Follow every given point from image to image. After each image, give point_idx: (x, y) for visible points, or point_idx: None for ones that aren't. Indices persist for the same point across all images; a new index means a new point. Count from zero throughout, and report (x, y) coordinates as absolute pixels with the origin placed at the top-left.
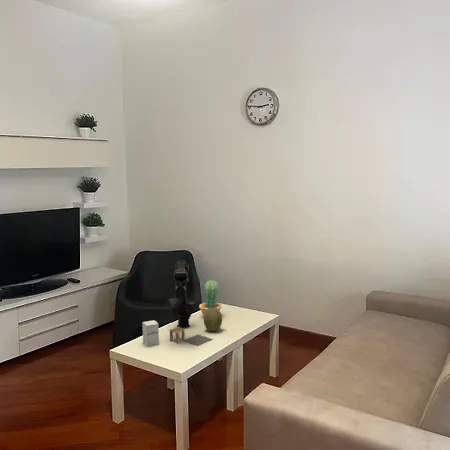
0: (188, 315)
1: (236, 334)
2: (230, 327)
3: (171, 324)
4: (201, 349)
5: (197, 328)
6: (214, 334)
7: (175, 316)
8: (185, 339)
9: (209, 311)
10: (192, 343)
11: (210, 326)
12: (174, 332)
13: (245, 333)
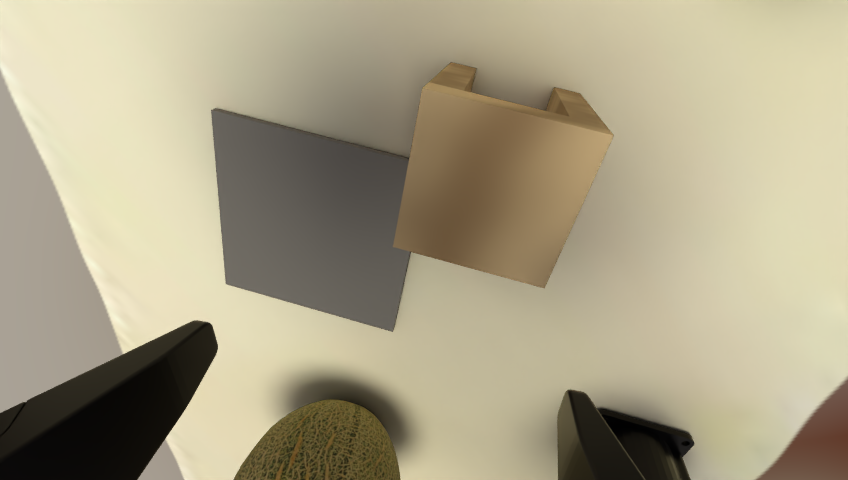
0: (56, 391)
1: None
2: None
3: (766, 462)
4: (119, 35)
5: (483, 430)
6: (295, 367)
7: (568, 402)
8: None
9: None
10: (292, 130)
11: (298, 422)
12: (484, 96)
13: None
